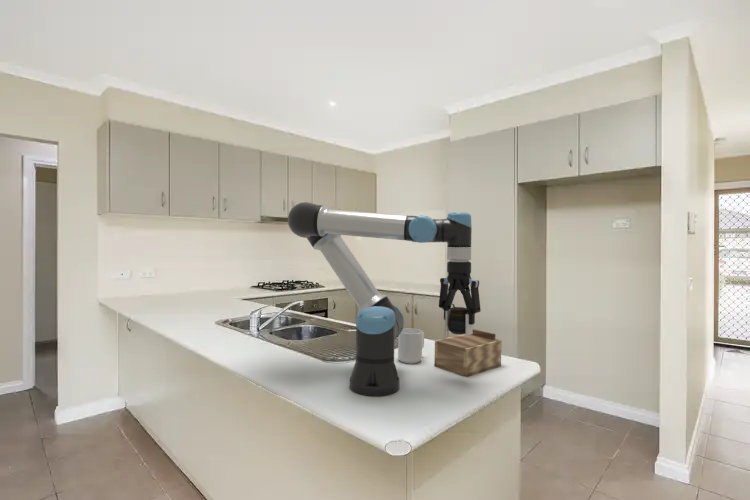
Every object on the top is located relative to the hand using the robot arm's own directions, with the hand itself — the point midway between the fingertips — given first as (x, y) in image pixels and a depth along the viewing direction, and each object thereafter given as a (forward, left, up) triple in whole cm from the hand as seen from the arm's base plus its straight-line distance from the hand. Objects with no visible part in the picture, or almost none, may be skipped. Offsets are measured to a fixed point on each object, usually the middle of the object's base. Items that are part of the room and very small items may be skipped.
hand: (458, 332), depth 127 cm
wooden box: (+15, +7, -15) cm, 22 cm away
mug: (+4, +24, -16) cm, 29 cm away
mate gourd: (0, 0, 0) cm, 0 cm away
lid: (+15, +7, -7) cm, 18 cm away
